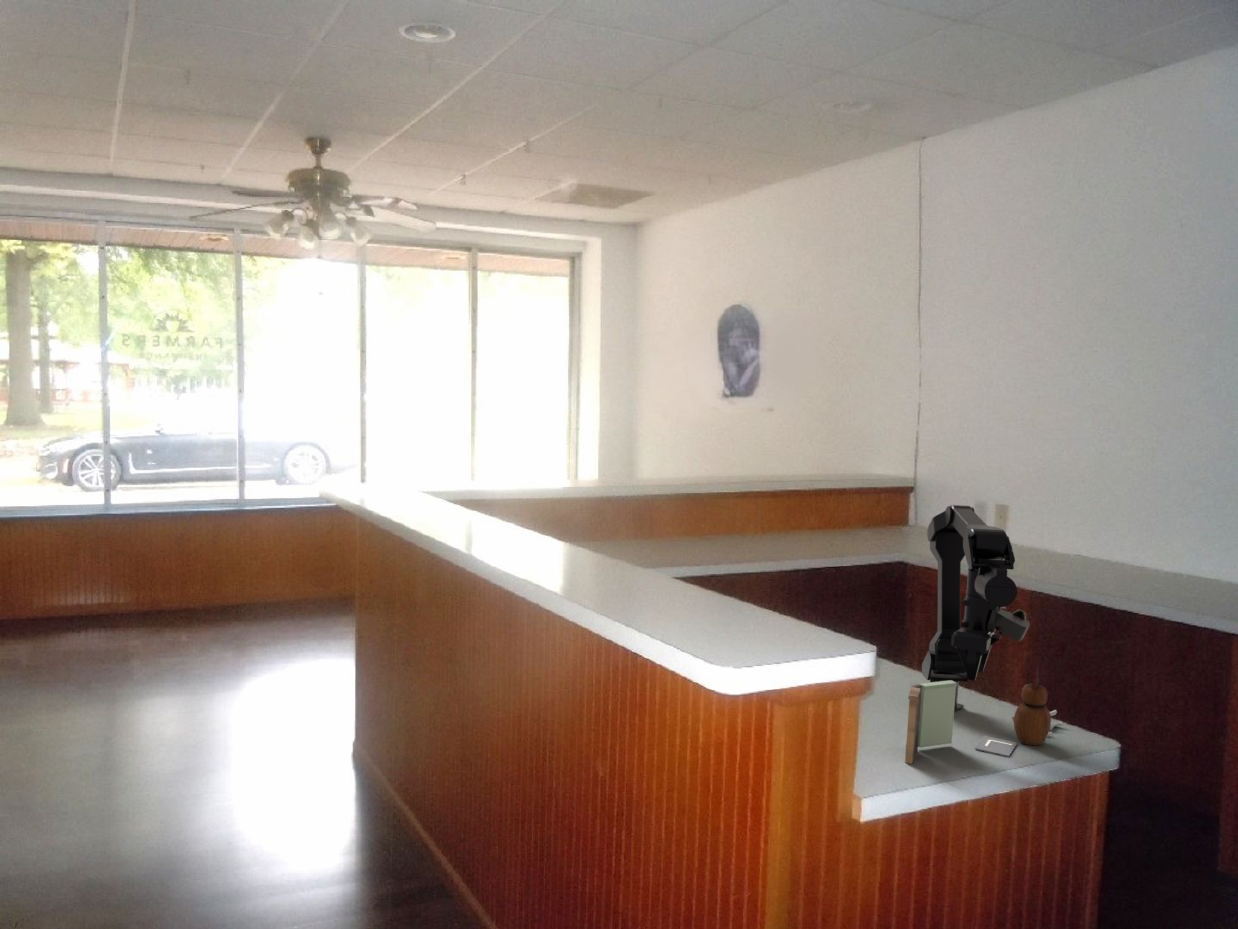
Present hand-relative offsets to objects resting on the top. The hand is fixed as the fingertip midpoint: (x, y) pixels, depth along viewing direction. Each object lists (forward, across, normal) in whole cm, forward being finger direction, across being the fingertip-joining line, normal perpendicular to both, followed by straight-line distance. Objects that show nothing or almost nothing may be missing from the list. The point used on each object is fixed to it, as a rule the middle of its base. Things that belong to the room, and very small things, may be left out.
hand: (976, 676), depth 189 cm
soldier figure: (+13, +16, -9) cm, 23 cm away
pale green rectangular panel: (+12, -7, +5) cm, 15 cm away
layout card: (+13, +1, -4) cm, 14 cm away
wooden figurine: (+13, +8, -9) cm, 18 cm away
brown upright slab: (+13, -14, +8) cm, 21 cm away
